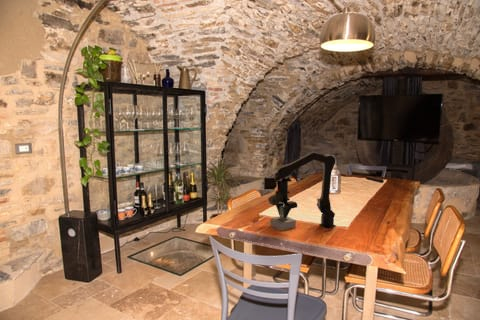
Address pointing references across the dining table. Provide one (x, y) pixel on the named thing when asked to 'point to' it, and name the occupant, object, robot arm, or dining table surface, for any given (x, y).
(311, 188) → the dining table surface
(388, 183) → the dining table surface
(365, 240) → the dining table surface
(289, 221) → the socket block
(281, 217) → the peg
